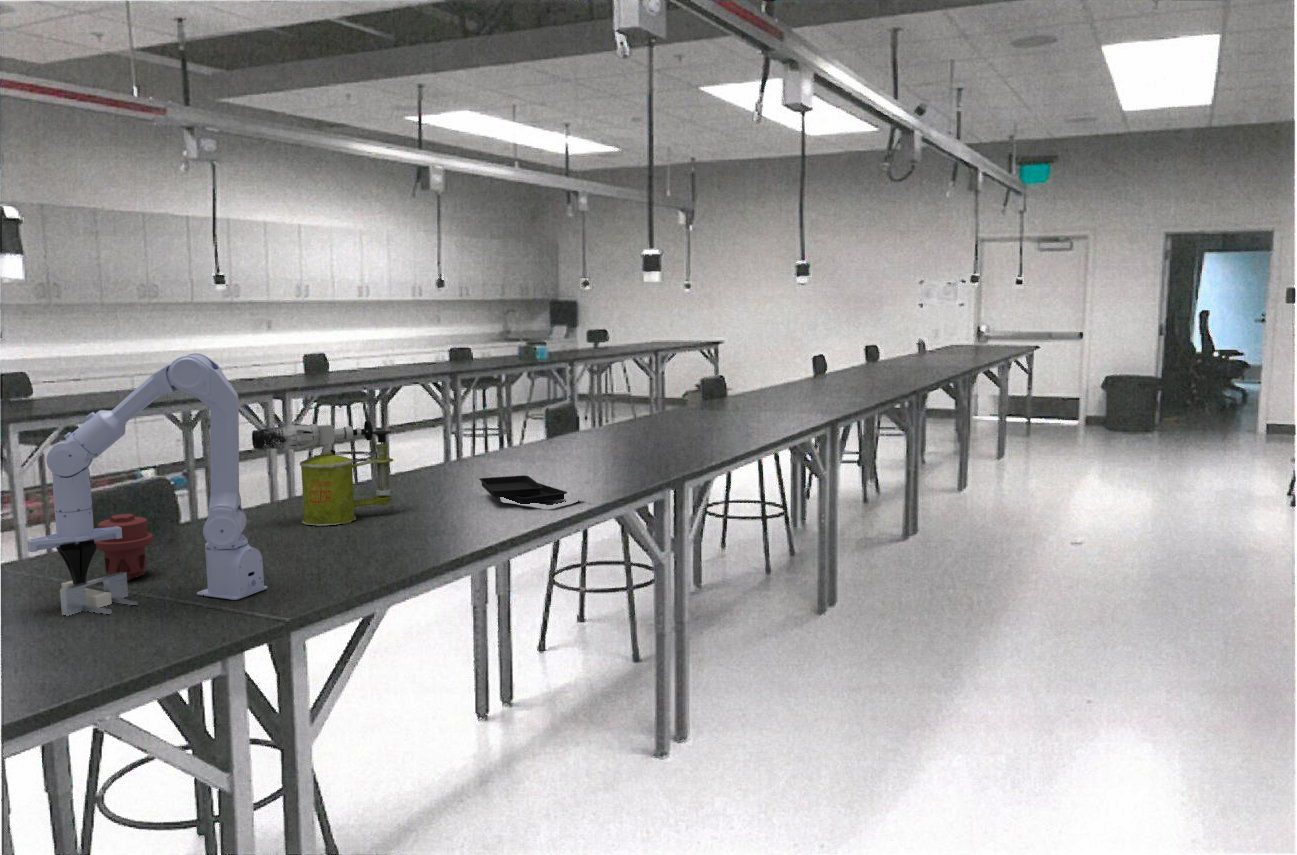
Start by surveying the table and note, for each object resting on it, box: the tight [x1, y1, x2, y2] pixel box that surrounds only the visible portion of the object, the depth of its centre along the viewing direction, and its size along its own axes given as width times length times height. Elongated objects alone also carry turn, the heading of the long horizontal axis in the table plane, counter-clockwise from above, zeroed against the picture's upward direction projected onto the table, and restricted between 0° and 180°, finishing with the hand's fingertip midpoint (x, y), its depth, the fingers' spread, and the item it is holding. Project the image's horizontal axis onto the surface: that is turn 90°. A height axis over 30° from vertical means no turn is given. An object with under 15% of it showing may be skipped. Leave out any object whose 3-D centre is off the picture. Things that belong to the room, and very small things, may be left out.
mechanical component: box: [94, 513, 154, 582], centre depth 190 cm, size 12×10×10 cm
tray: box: [479, 475, 568, 505], centre depth 262 cm, size 30×23×5 cm
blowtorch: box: [251, 420, 394, 526], centre depth 239 cm, size 13×33×25 cm, turn 122°
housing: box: [59, 572, 138, 617], centre depth 172 cm, size 7×12×5 cm, turn 158°
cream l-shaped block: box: [61, 580, 113, 608], centre depth 175 cm, size 10×3×4 cm, turn 64°
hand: (79, 584), depth 174 cm, fingers closed
